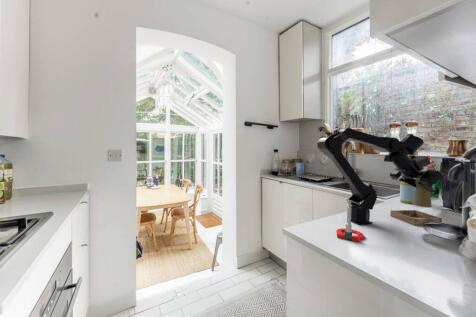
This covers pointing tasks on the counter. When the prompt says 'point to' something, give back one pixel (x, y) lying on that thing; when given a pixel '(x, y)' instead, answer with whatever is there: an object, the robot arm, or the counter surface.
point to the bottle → (407, 193)
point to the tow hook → (349, 228)
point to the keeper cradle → (423, 218)
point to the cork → (421, 196)
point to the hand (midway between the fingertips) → (425, 189)
